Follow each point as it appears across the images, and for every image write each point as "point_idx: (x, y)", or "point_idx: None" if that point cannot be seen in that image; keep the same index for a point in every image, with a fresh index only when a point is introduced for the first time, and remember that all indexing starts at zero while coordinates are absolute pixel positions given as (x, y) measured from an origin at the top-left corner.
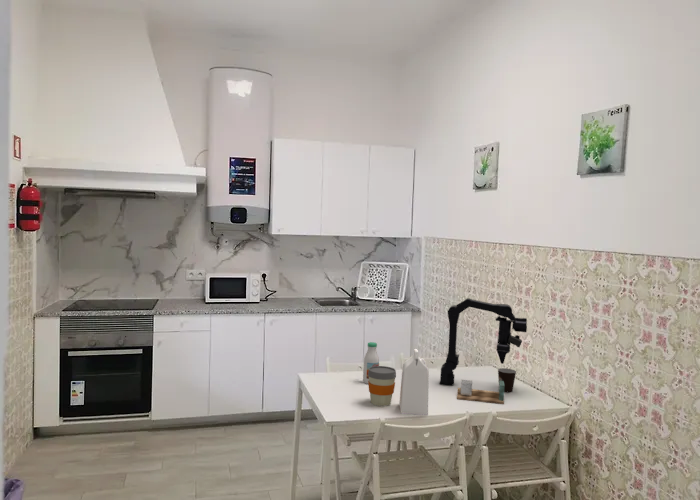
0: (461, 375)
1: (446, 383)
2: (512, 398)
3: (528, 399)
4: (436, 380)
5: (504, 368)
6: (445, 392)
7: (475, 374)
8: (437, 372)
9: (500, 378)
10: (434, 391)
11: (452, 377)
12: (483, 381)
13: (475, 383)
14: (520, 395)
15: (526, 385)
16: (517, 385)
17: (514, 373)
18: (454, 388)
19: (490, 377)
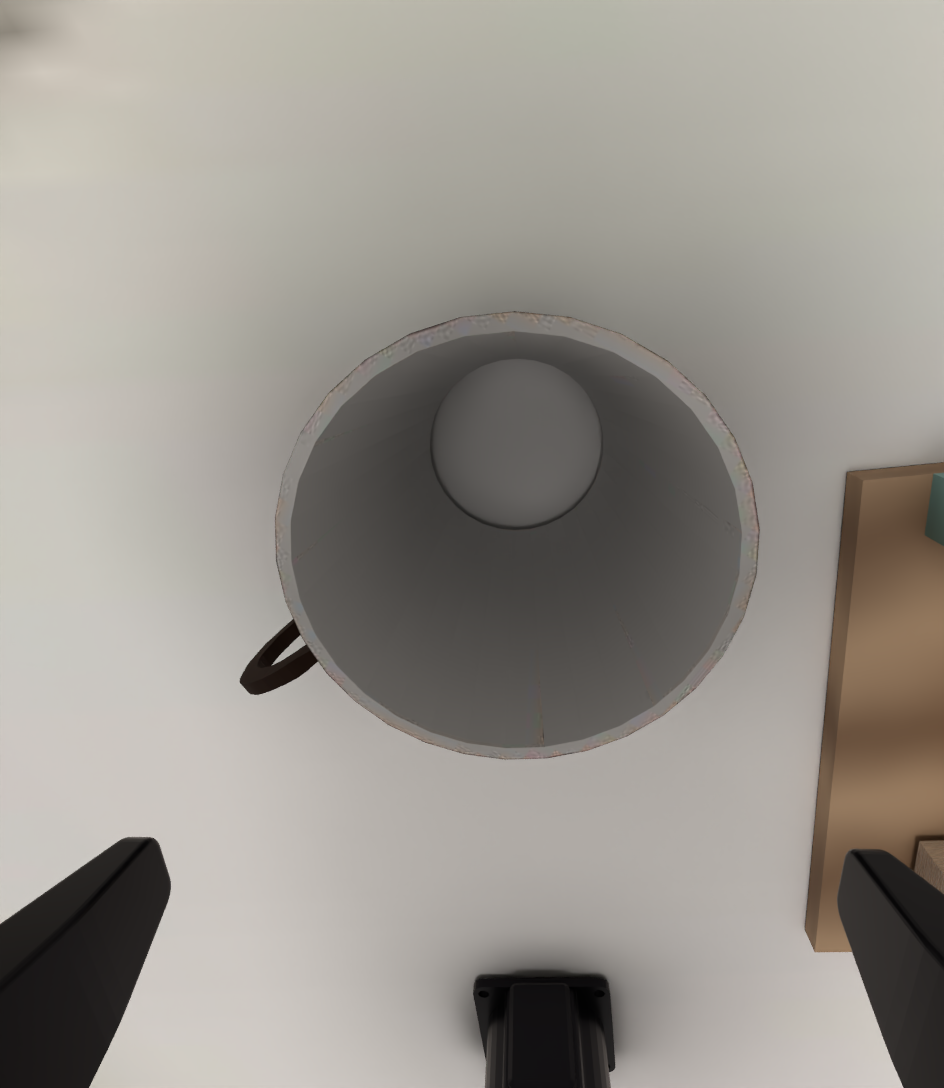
0: (163, 924)
1: (604, 1034)
2: (912, 318)
3: (901, 18)
4: (483, 1080)
5: (313, 630)
6: (870, 1013)
7: (16, 814)
8: (211, 1082)
9: (625, 611)
10: (865, 1081)
11: (581, 1072)
12: (244, 727)
13: (384, 798)
14: (692, 195)
15: (32, 129)
16: (136, 288)
17: (641, 349)
18: (690, 957)
19: (9, 665)
